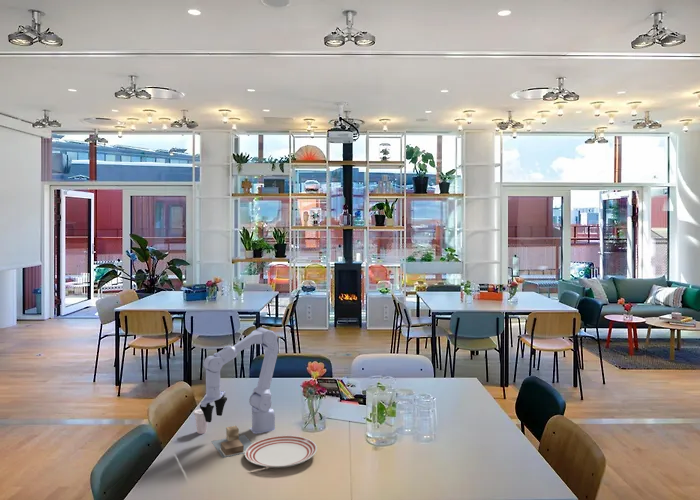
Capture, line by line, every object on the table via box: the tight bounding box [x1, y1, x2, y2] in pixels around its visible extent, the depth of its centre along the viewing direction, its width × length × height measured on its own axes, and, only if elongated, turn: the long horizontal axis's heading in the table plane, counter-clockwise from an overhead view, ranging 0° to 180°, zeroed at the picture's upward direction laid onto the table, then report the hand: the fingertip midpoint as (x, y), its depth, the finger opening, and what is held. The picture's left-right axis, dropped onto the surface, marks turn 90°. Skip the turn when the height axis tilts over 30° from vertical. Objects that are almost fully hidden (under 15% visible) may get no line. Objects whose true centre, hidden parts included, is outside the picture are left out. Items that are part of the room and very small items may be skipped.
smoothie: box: [193, 408, 209, 435], centre depth 227 cm, size 6×6×14 cm
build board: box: [211, 434, 253, 459], centre depth 212 cm, size 14×18×1 cm
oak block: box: [225, 425, 240, 441], centre depth 218 cm, size 4×4×5 cm
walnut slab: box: [221, 440, 244, 455], centre depth 208 cm, size 7×7×2 cm
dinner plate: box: [244, 434, 318, 469], centre depth 202 cm, size 27×27×3 cm
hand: (214, 418), depth 217 cm, fingers open, 7 cm apart
